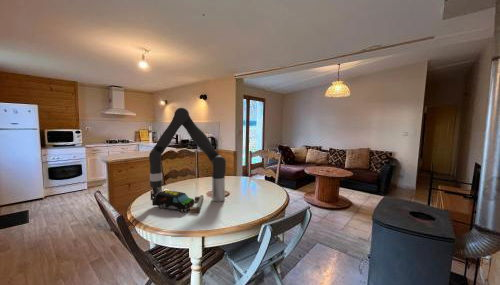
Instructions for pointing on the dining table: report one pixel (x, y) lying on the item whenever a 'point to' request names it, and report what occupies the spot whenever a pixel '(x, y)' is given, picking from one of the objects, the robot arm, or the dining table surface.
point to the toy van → (174, 200)
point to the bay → (199, 205)
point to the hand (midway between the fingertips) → (156, 202)
